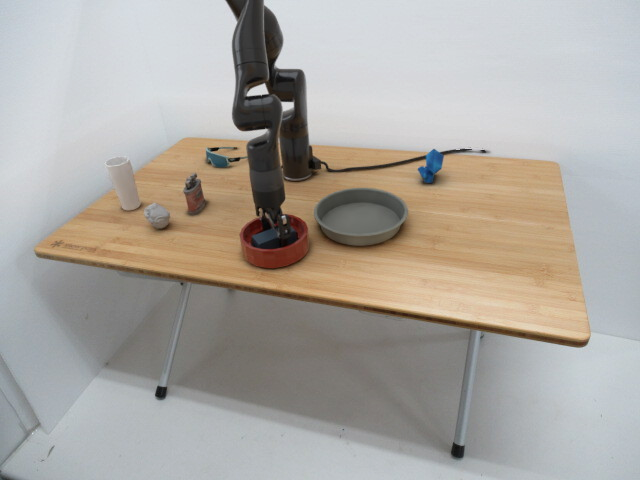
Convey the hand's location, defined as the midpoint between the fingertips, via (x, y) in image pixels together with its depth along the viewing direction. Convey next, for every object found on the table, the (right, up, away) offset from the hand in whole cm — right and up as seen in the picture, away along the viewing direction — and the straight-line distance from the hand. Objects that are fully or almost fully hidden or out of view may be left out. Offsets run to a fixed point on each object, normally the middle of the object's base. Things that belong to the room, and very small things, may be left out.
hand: (275, 241), depth 116 cm
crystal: (+45, +19, +28) cm, 56 cm away
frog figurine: (-33, +4, +14) cm, 36 cm away
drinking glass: (-45, +10, +24) cm, 52 cm away
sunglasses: (-22, +29, +49) cm, 61 cm away
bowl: (0, -2, +1) cm, 3 cm away
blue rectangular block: (0, -2, +1) cm, 2 cm away
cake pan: (+22, +5, +9) cm, 24 cm away
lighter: (-25, +10, +21) cm, 34 cm away
